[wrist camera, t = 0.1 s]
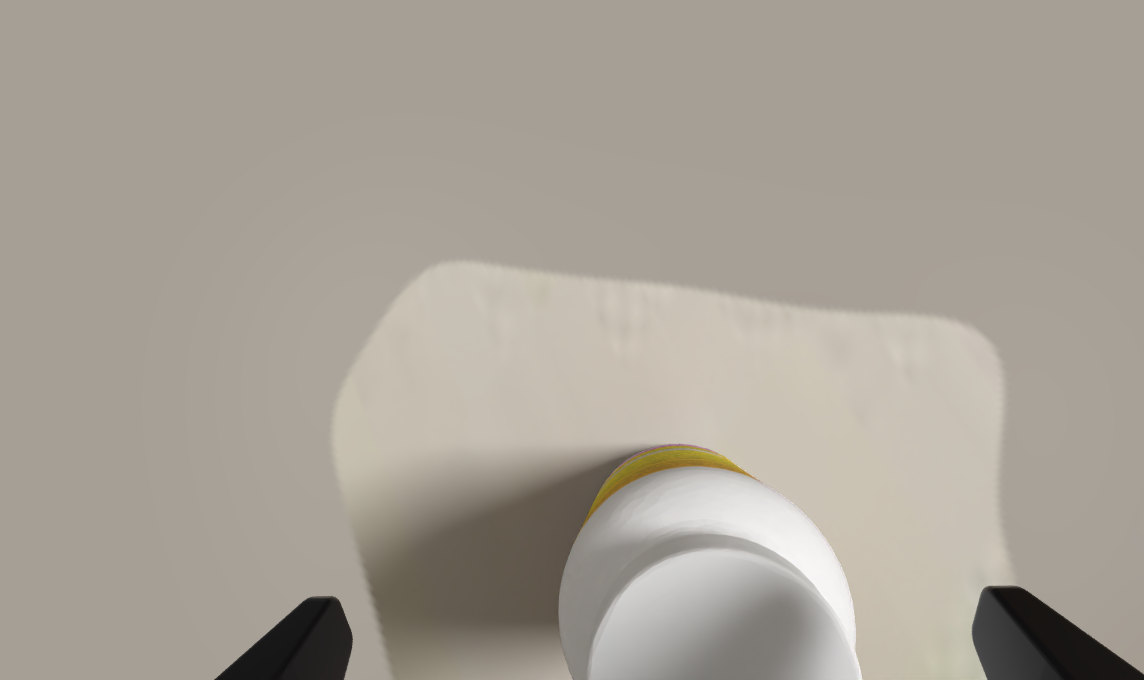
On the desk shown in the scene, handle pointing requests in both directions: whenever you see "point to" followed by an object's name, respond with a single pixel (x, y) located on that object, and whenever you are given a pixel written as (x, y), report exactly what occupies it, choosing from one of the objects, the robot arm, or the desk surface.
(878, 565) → the desk surface
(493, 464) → the desk surface
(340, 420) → the desk surface
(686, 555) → the supplement bottle
